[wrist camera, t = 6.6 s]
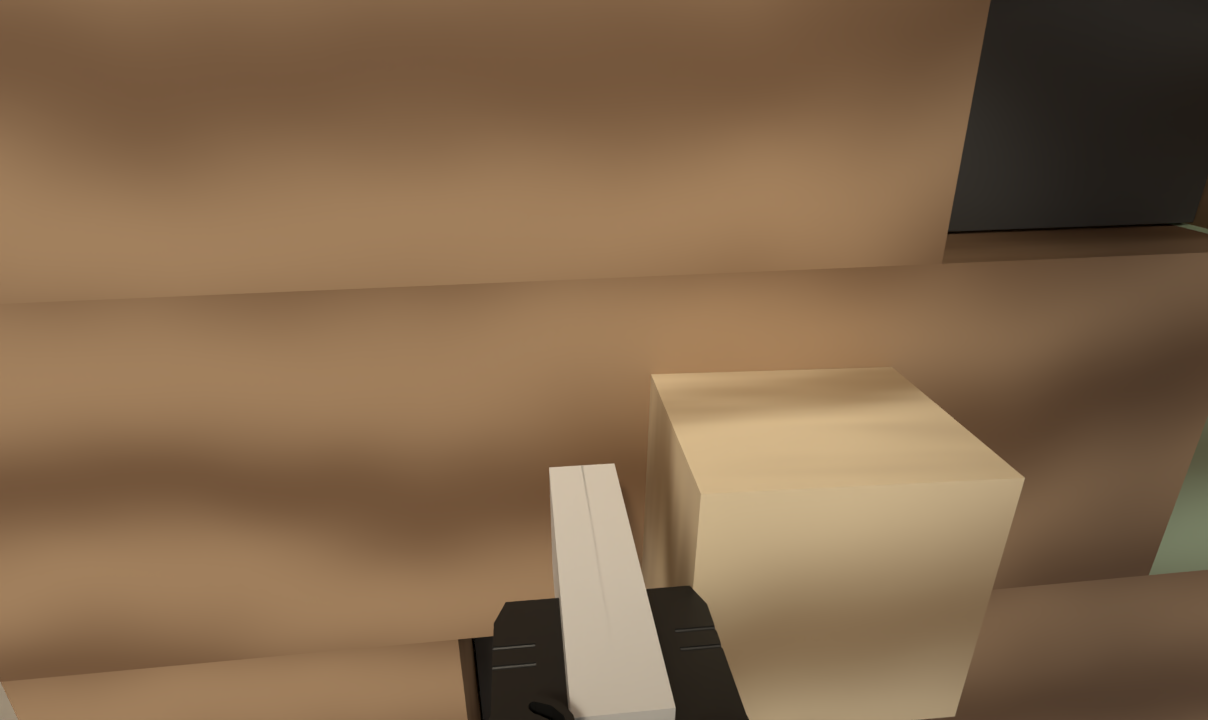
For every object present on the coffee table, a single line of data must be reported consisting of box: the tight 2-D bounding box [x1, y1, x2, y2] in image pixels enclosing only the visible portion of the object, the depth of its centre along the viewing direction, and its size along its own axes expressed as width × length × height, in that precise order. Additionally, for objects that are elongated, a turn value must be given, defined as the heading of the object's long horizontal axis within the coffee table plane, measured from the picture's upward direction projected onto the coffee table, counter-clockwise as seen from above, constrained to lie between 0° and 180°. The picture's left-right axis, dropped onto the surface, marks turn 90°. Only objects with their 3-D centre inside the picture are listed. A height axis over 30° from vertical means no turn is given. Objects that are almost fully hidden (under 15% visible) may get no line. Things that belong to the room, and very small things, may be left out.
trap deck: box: [0, 0, 1208, 720], centre depth 18 cm, size 29×40×6 cm
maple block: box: [642, 367, 1025, 720], centre depth 16 cm, size 6×6×5 cm
